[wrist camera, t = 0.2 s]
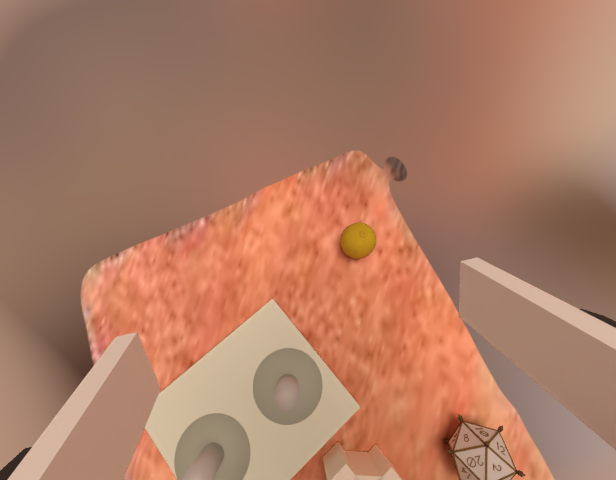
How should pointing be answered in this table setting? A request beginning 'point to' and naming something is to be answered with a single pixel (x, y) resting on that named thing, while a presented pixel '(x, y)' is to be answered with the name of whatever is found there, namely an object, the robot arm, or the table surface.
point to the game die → (480, 453)
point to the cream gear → (358, 465)
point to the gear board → (250, 405)
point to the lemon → (358, 240)
